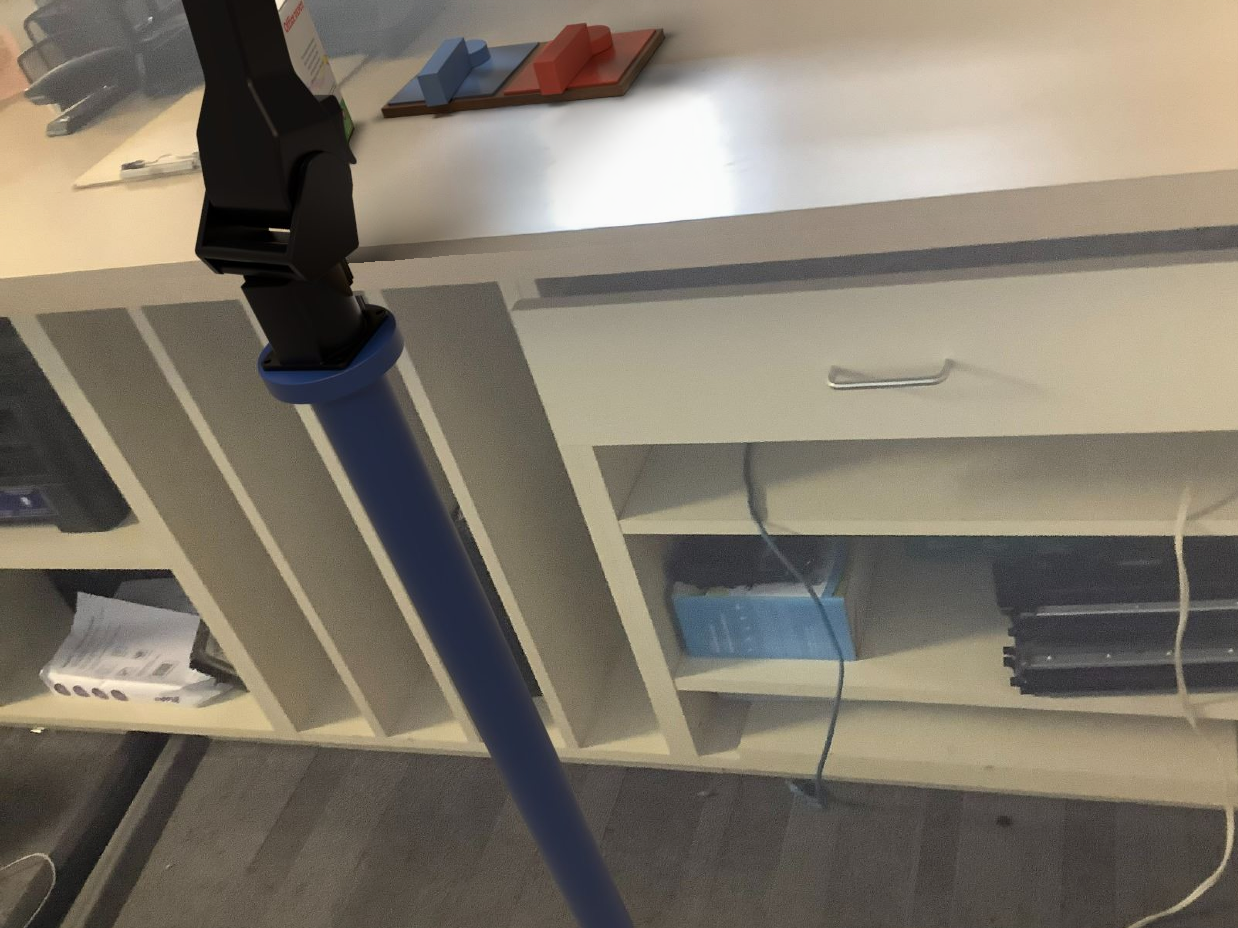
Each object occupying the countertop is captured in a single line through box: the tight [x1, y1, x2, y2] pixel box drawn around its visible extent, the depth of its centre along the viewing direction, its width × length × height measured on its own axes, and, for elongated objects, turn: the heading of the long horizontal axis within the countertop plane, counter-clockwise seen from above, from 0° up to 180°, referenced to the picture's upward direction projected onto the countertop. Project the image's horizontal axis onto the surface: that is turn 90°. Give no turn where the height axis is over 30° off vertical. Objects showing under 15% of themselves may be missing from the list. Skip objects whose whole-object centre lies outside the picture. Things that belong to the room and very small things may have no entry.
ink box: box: [275, 0, 355, 141], centre depth 90 cm, size 8×5×12 cm, turn 4°
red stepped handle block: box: [533, 22, 613, 95], centre depth 94 cm, size 12×4×3 cm, turn 165°
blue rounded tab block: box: [416, 36, 490, 107], centre depth 97 cm, size 12×4×3 cm, turn 173°
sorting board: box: [380, 28, 665, 118], centre depth 97 cm, size 12×22×1 cm, turn 75°
